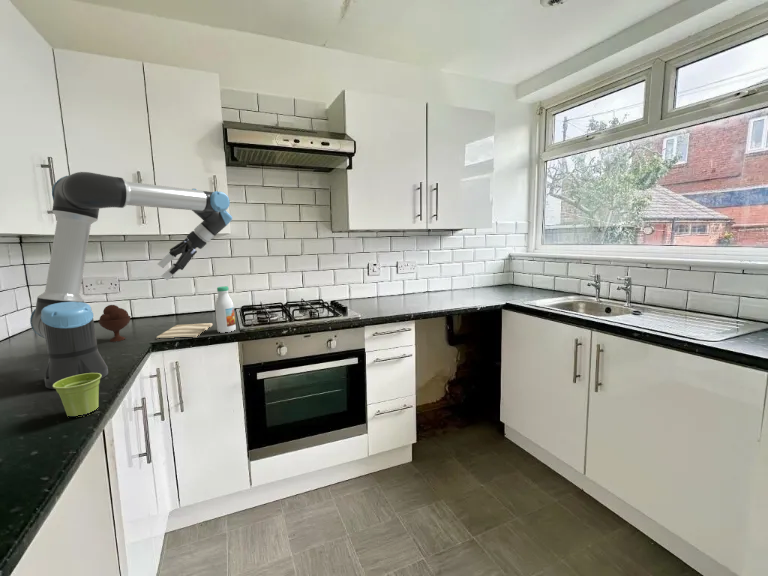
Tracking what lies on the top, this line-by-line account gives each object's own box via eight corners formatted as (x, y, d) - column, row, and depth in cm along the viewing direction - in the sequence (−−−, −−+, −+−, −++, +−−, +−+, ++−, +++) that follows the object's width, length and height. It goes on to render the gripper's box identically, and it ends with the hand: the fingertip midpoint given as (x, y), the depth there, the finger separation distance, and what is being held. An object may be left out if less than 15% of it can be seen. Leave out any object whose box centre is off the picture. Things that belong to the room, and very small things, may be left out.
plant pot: (49, 418, 91) (43, 384, 90) (91, 401, 100) (86, 370, 98) (74, 424, 88) (68, 389, 86) (115, 406, 96) (110, 374, 95)
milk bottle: (220, 334, 163) (216, 288, 160) (215, 331, 169) (210, 287, 165) (238, 330, 168) (234, 286, 165) (232, 327, 174) (228, 285, 170)
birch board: (196, 337, 159) (196, 334, 159) (156, 339, 157) (156, 336, 157) (212, 325, 179) (212, 323, 179) (177, 327, 177) (176, 324, 177)
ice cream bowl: (96, 345, 152) (91, 308, 149) (108, 337, 162) (103, 303, 160) (126, 342, 155) (121, 306, 152) (136, 335, 165) (132, 301, 163)
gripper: (213, 252, 153) (174, 289, 150) (201, 233, 171) (165, 266, 168) (199, 240, 148) (157, 278, 145) (187, 222, 166) (151, 256, 163)
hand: (162, 272), depth 157 cm, fingers open, 13 cm apart
